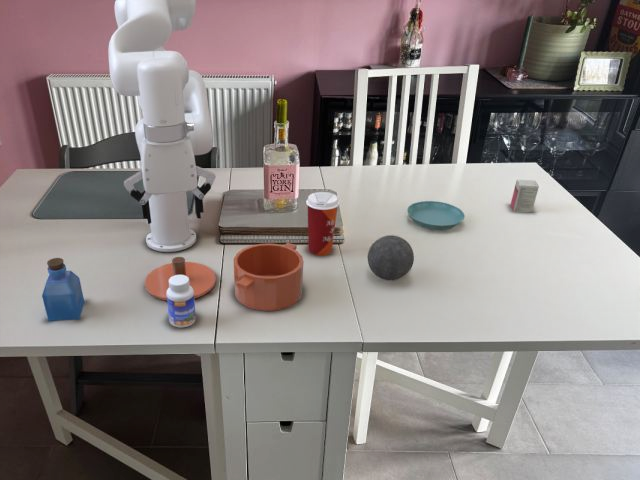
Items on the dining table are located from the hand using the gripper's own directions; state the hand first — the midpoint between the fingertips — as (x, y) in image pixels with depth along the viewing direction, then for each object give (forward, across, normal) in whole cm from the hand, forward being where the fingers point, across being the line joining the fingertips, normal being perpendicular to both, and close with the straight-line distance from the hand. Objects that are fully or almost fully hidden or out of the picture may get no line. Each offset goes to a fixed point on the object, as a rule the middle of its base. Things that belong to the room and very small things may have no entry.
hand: (173, 218), depth 112 cm
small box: (+18, -97, -24) cm, 101 cm away
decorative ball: (+19, -46, +1) cm, 50 cm away
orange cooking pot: (+19, -19, +1) cm, 27 cm away
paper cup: (+19, -35, -14) cm, 42 cm away
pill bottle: (+19, +1, +7) cm, 21 cm away
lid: (+18, 0, -7) cm, 19 cm away
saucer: (+18, -70, -23) cm, 76 cm away
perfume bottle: (+19, +24, -1) cm, 31 cm away
